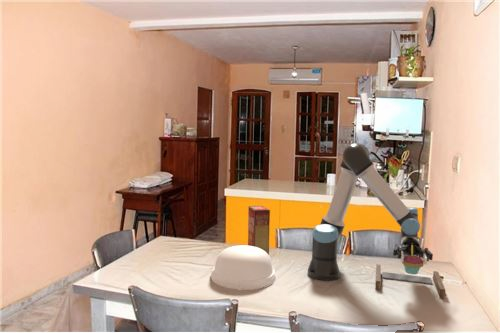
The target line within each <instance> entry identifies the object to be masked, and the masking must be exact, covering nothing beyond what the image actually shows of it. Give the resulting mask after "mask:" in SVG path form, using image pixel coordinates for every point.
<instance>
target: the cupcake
mask: <svg viewBox="0 0 500 333" xmlns="http://www.w3.org/2000/svg"><path fill="white" fill-rule="evenodd" d="M401 263H402V264H403V266H404V270H405V273H406V274H407V275H418V274H419V271H420V269H421V268H422V267H424V265H425V264H424V261H423V258H421V257H420V256H416V255H413V245H411V255H404V259H403V262H401Z"/></svg>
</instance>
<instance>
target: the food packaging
mask: <svg viewBox="0 0 500 333" xmlns="http://www.w3.org/2000/svg"><path fill="white" fill-rule="evenodd" d="M247 214H248V218H247V219H248V223H247V225H248V227H247V231H248V232H247V234H248V236H247V238H248V239H247V245H248V246H254V247H258V248H260V249H262V250H264V251H265V252H266V253H267V254H268V255H270V222H271V221H270V219H271V218H270V217H271V216H270V215H271V210H270V209H269V208H267V207H265V206H264V205H249V206H248V213H247Z"/></svg>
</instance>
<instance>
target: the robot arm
mask: <svg viewBox="0 0 500 333" xmlns="http://www.w3.org/2000/svg"><path fill="white" fill-rule="evenodd" d="M339 168H340V169H341V171H340V172H341V173H340V174H339V178H338V180H337V184H336V187H335V190H334V193H333V195H332V199H331V201H330V204H329V207H328V210H327V213H326V214H325V215H324V216H322V218H321V221H320V224H317V225H315V227H313V232H312V248H311V249H312V250H311V252H312V253H311V260H310V262H309V264H308V268H307V276H308V277H310V278H312V279H315V280H318V279H319V281H335V280H338V279H339V278H340V275H341V274H340V273H341V272H340V267H339V264H338V260H337V258H338V256H337V255H338V245H339V242H340V241H341V239H342V236H343V232H344V229H345V226H346V225H345V222H344V220H345V217H346V214H347V211H348V208H349V205H350V202H351V199H352V196H353V194H354V190H355V188H356V185H357V182H358V180H359V178H360V179H361V180H362V181H363V182H364V184H365V185H366V186H367V188H368V189H369V190H370V191H371V192H372V193H373V195H374V196H375V198H377V199H378V201H379V202H380V203H381V204H382V206H383V207H384V208H385V209H386V210H387V212H388V213H389V214H390V215H391V217H392V218H393V219H394V220H395V221H396V223H397V224H398V225H399V227H400V239H399V241H400V242H401V245H400V244H395V246H394V248H393V251H392V254H393V255H392V256H395V257H396V256H397V258H398V259H400V262H401V263H402V262H403V259H404V257H405V256H408V255H411V245H413V256H417V257H419V258H421V259H422V260H423V262H424V265H428V262H429V261H433V257H434V255H433V253H432V252H431V251H430V250H429V248H428V247H425V248H422V247H421V245H420V242H419V238H418V237H419V235H418V234H419V232H420V229H421V223H420V222H419V213H418V212H419V211H418V209H417V208H416V207H412V206H406V205H405V204H404V202H403V201H402V200H401V198H400V197H399V196H398V195H397V194H396V193H395V191H394V189H392V188H391V187H390V185H389V183H387V181H386V180H385V179H384V177H383V176H382V175H381V174H380V173H379V172H378V171H377V169H376V167H375V163H374V162H373V160H372V159H371V158H370V150H369V149H368V147H367V146H366V145H364V144H362V143H358V142H355V143H351V144H349V145H348V146H346V147H345V148H344V150H343V153H342V160H341V163H340V165H339Z"/></svg>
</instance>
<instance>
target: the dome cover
mask: <svg viewBox="0 0 500 333" xmlns="http://www.w3.org/2000/svg"><path fill="white" fill-rule="evenodd" d="M272 262H273V261H272V259H271V256H270V254H267V253H266V252H265V251H264V250H262V249H260V248H258V247H254V246H248V244H245V245H244V244H243V245H242V244H241V245H233V246H229V247H227V248H225V249H223V250H221V252H219V254H218V256H217V257H216V260H215V264H214V267H213V268H212V270H211V276H210V277H211V280H212V283H215V284H216V285H218V286H220V287H223V288H226V289H232V290H237V291H245V290H246V291H249V290H258V289H263V287H264V288H267V287H269V286H271V285H272V284H274V283H275V282H276V279H277V278H276V271H275V269H274V266H273V263H272Z"/></svg>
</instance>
